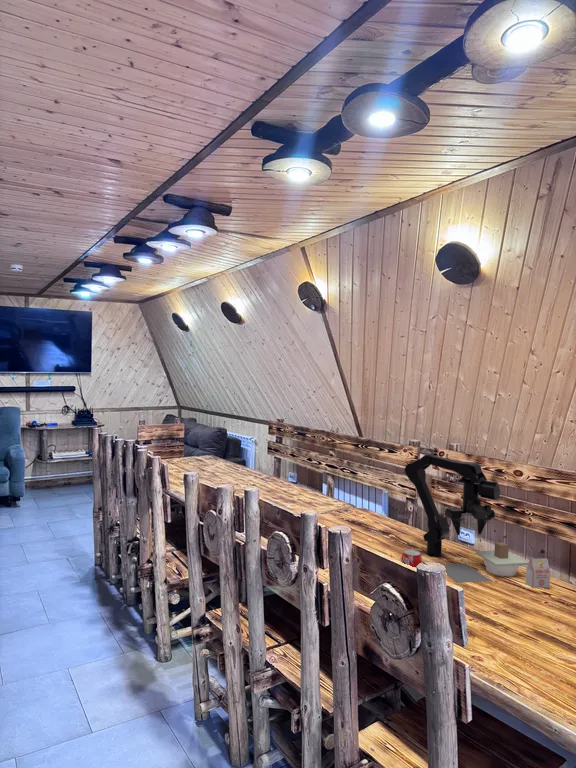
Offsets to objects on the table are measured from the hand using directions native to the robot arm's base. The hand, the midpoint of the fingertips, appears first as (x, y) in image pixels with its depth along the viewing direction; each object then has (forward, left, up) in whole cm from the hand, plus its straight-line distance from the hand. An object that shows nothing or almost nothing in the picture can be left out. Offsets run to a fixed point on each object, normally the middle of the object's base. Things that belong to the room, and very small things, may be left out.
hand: (468, 534), depth 200 cm
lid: (+8, +9, -7) cm, 14 cm away
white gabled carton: (+22, +14, -12) cm, 29 cm away
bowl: (+8, +9, -12) cm, 17 cm away
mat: (+8, -8, -12) cm, 16 cm away
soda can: (+16, -32, -12) cm, 38 cm away
